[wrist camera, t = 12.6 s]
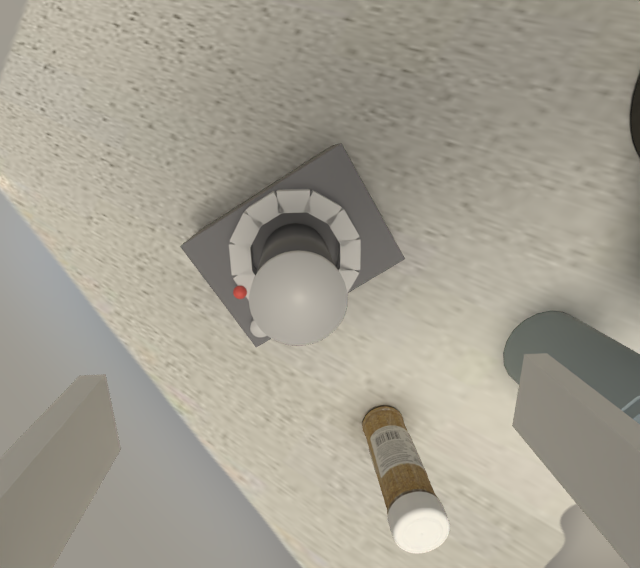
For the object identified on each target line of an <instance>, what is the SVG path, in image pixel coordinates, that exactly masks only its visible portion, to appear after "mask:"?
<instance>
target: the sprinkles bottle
mask: <svg viewBox="0 0 640 568" xmlns="http://www.w3.org/2000/svg"><path fill="white" fill-rule="evenodd" d="M362 426H363V431H364V433H365V436H366V438H367V442H368V445H369V452H370V455H371V459H372V462H373V466H374V469H375V472H376V474H377V477H378V481H379V484H380V487H381V491H382V494H383V497H384V500H385V504H386V507H387V514H388V523H389V526H390V530H391V533H392V536H393V539H394V541H395V543H396V544H397V546H398V547H400V548H401V549H402V550H404V551H407V552H410V553H425V552H428V551H431V550H433V549H435V548H437V547H438V546H440V545H441V544H442V543H443V542H444V541H445V540H446V538H447V536H448V534H449V530H450V523H449V520H448V517H447V515H446V512H445V510H444V507H443V505H442V503H441V502H440V500H439V499H438V497H437V496H436V495H435V493H434V491H433V488H432V486H431V484H430V481H429V479H428V476H427V473H426V471H425V468H424V466H423V464H422V462H421V460H420V457H419V455H418V453H417V450H416V448H415V446H414V443H413V441H412V439H411V437H410V435H409V433H408V431H407V429H406V427H405V425H404V422H403V417H402V415H401V414H400V412H399V411H397V410H396V409H394V408H392V407H388V406H382V407H378V408H375V409H373V410H371V411H370V412H369V413H368V414H367V415H366V416H365V418H364V420H363V423H362Z"/></svg>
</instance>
